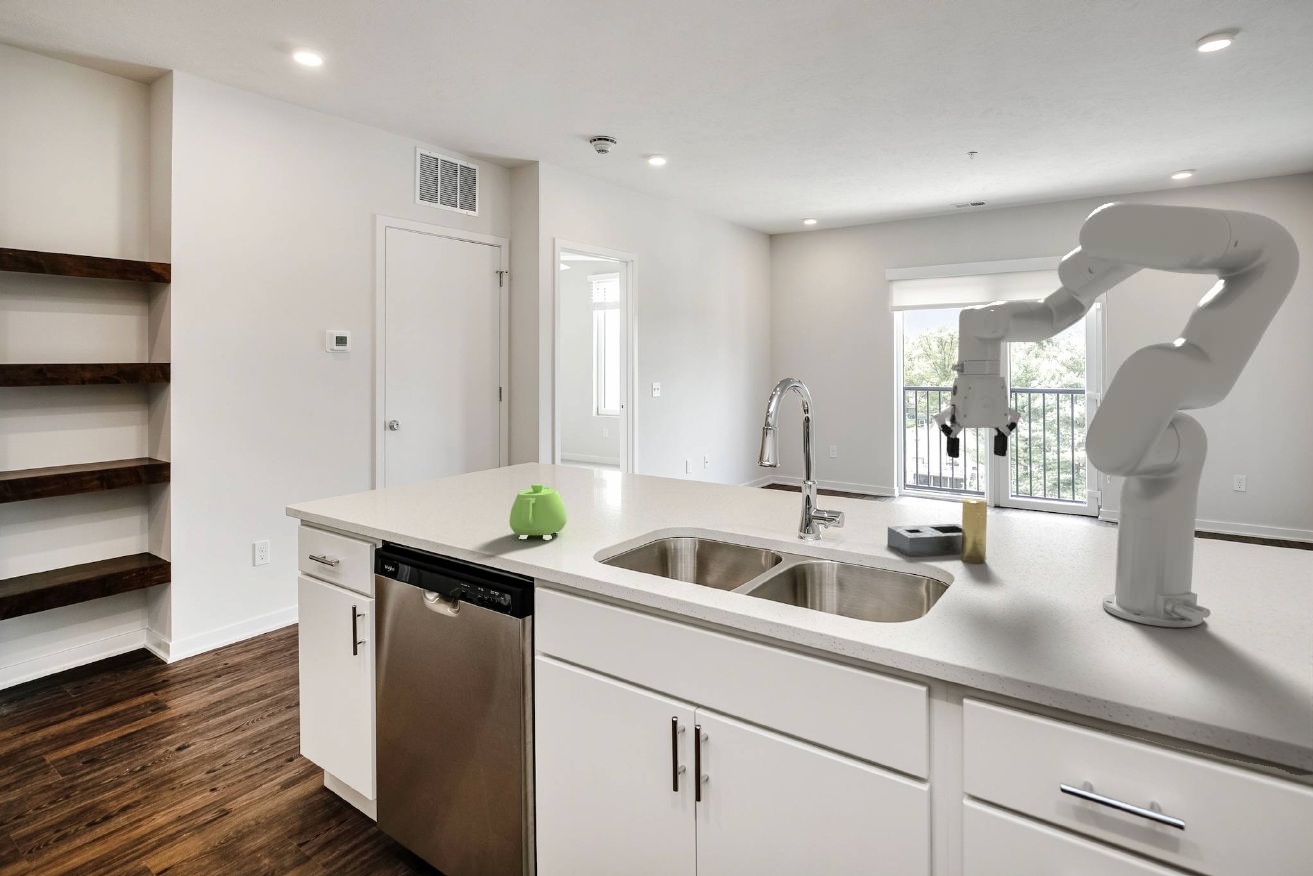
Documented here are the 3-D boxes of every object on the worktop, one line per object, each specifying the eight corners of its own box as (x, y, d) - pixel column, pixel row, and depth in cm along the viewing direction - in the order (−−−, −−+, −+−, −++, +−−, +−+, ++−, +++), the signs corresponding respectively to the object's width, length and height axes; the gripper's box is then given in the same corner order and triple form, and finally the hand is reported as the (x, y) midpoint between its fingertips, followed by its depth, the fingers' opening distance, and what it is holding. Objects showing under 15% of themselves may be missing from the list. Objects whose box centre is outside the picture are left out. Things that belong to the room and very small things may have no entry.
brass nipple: (990, 563, 135) (991, 503, 134) (969, 564, 134) (970, 504, 133) (977, 557, 139) (978, 499, 138) (956, 558, 139) (958, 500, 137)
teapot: (525, 526, 176) (523, 477, 175) (576, 526, 174) (574, 477, 173) (498, 546, 156) (496, 491, 155) (555, 546, 155) (553, 491, 153)
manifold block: (982, 553, 142) (982, 534, 142) (909, 556, 140) (909, 537, 140) (956, 541, 152) (956, 523, 152) (887, 544, 150) (887, 526, 150)
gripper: (946, 370, 130) (944, 460, 131) (1032, 369, 131) (1029, 457, 133) (927, 371, 137) (925, 455, 139) (1009, 369, 139) (1006, 452, 140)
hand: (976, 456), depth 136 cm, fingers open, 9 cm apart
